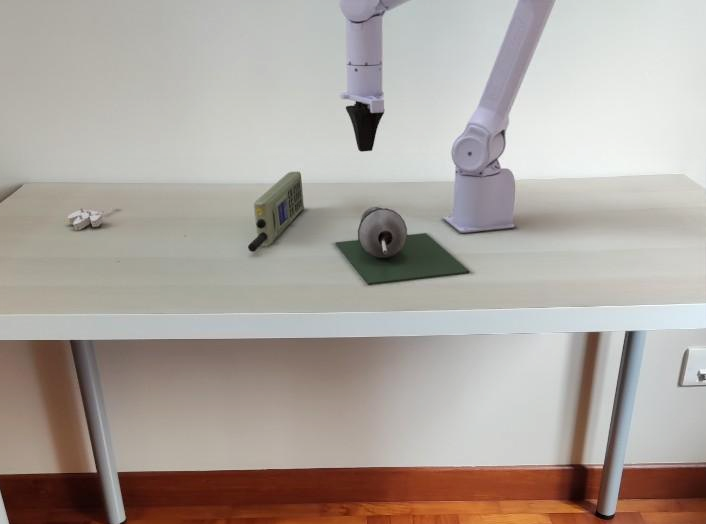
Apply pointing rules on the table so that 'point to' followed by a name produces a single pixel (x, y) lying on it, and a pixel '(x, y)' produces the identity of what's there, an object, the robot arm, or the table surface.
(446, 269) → the mat
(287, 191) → the handheld radio
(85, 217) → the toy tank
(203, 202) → the table surface
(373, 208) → the beverage cup
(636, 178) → the table surface
